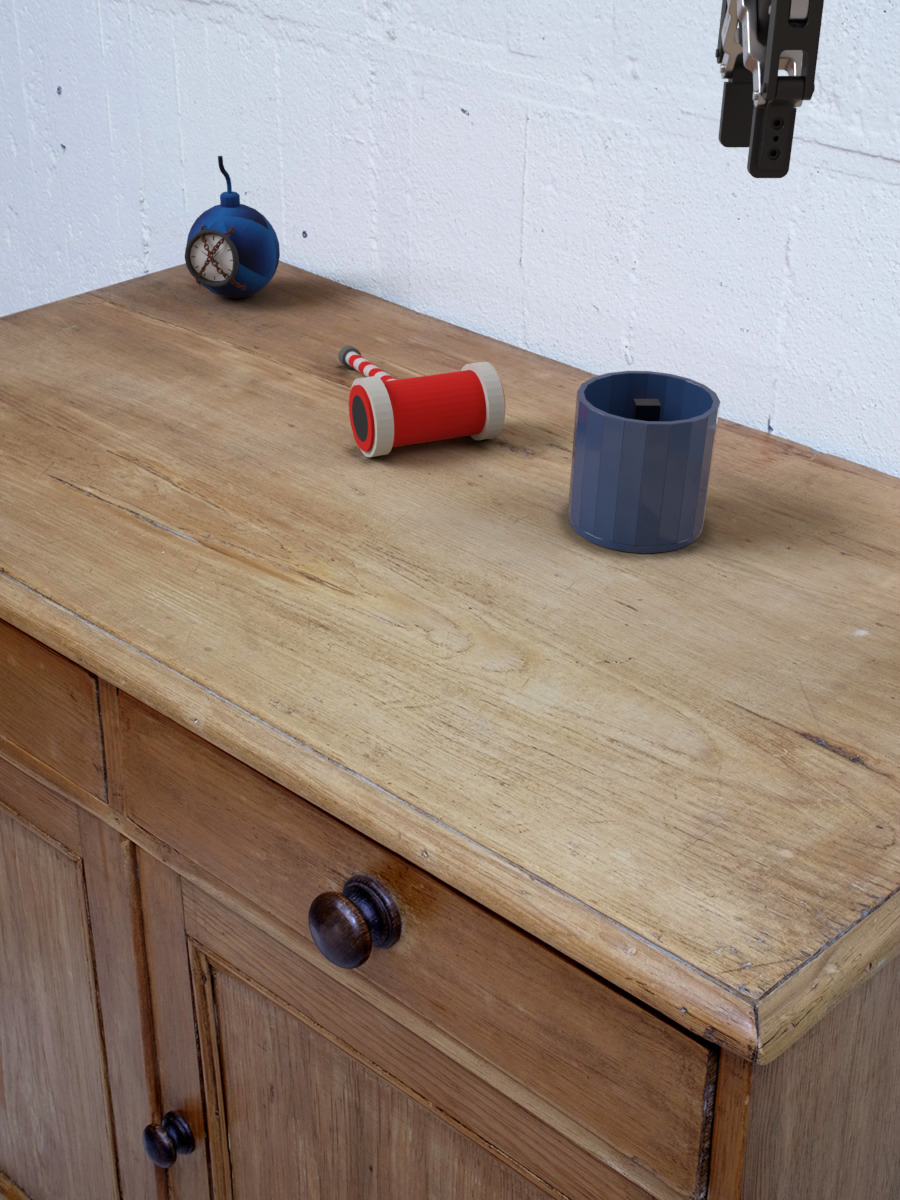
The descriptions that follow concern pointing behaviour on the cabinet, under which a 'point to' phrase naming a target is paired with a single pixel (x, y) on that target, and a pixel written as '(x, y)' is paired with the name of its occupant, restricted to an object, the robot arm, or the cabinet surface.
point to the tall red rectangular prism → (646, 409)
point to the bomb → (232, 247)
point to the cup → (641, 461)
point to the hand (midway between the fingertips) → (750, 160)
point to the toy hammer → (422, 405)
